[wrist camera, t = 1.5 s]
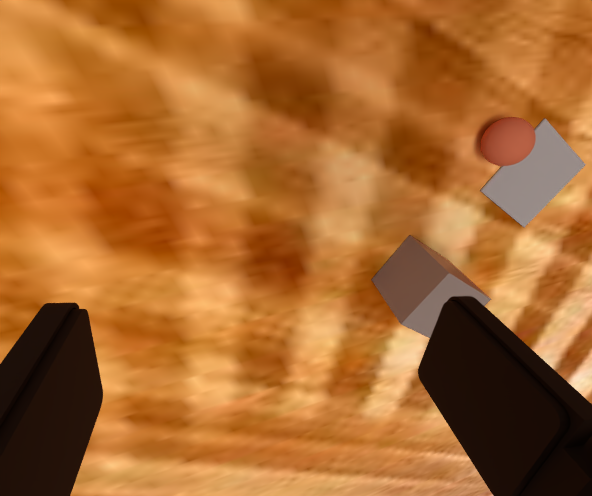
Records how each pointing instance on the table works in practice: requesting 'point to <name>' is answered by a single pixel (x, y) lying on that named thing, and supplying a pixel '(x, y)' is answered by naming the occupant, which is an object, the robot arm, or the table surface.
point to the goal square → (534, 176)
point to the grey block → (421, 285)
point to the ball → (508, 141)
